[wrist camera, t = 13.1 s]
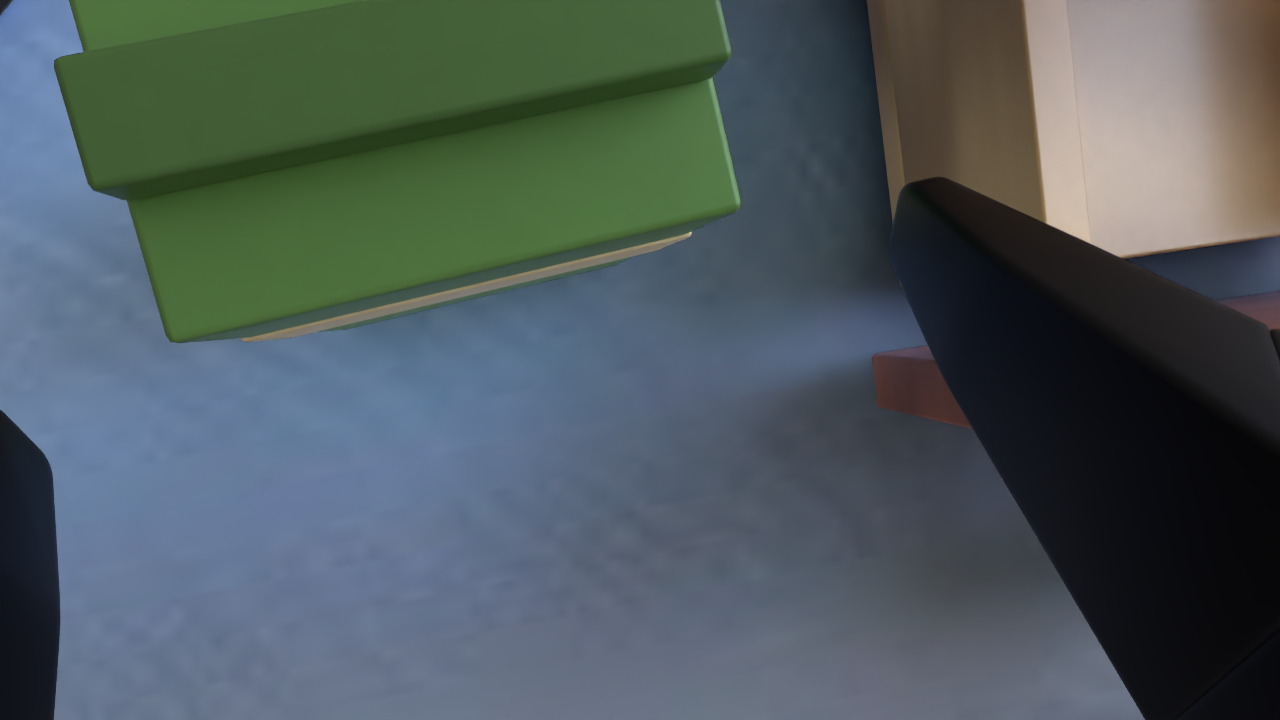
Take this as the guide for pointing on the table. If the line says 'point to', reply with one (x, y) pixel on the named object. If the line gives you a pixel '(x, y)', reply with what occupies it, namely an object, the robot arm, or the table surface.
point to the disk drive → (4, 5)
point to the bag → (393, 148)
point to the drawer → (1084, 129)
